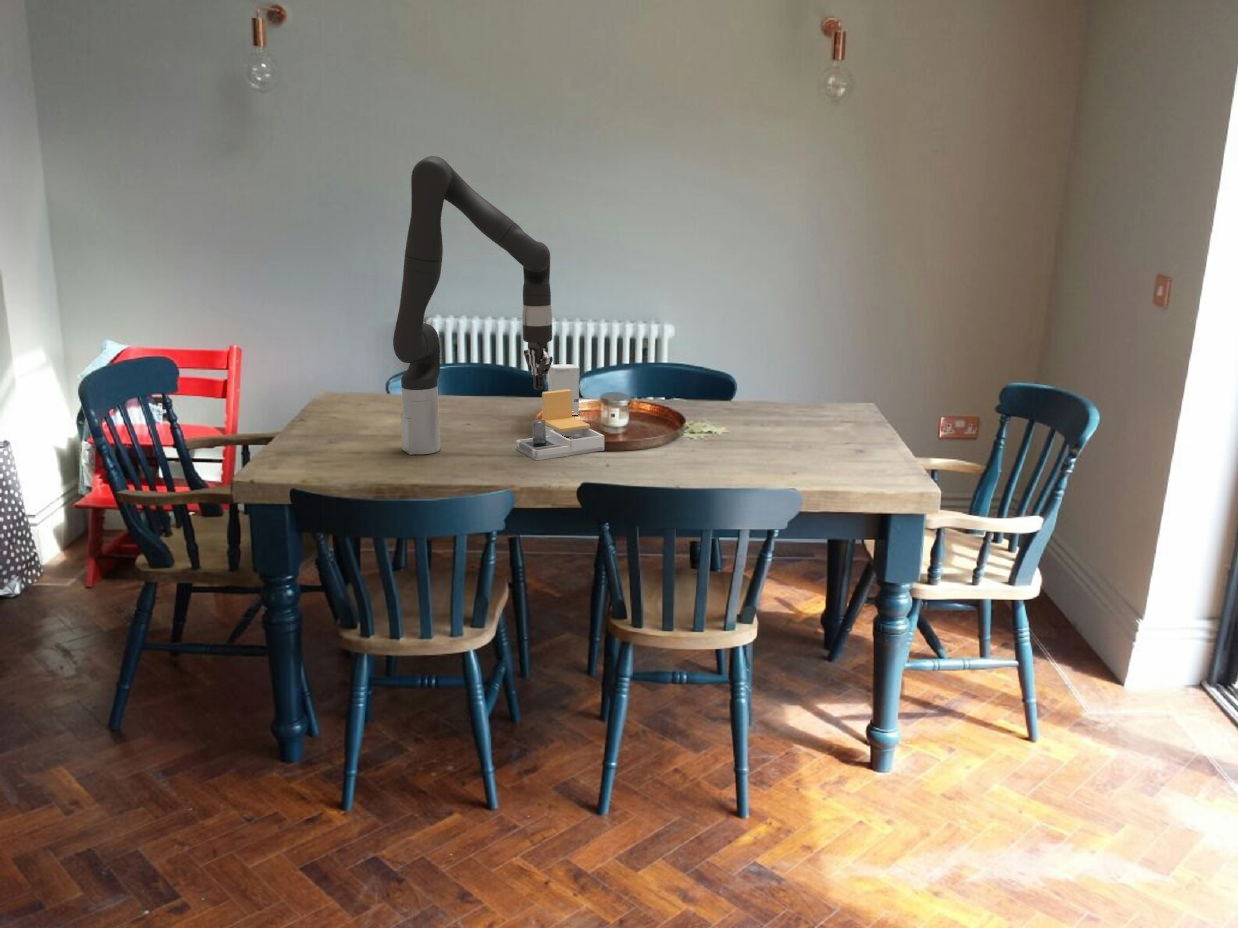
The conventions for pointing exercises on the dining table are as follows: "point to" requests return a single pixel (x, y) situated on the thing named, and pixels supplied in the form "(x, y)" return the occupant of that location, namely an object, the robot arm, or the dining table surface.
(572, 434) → the box
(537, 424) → the pin
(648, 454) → the dining table surface
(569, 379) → the skincare box
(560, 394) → the orange l-shaped block
